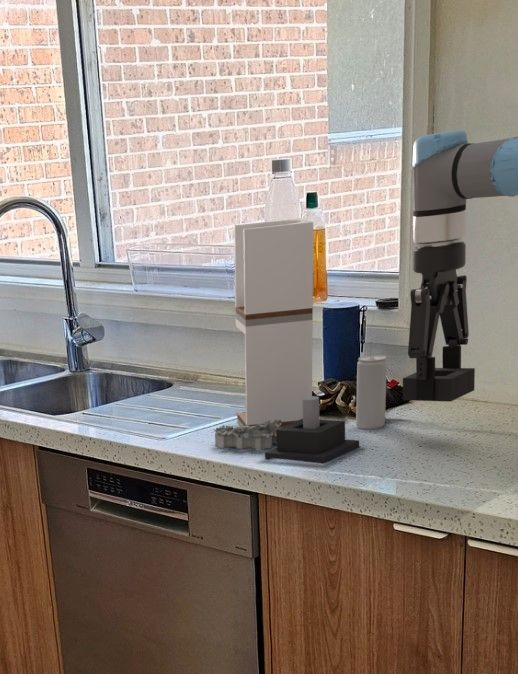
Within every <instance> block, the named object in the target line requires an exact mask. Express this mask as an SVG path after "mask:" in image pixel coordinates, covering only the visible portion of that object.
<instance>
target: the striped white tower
mask: <svg viewBox="0 0 518 674" xmlns="http://www.w3.org/2000/svg"><path fill="white" fill-rule="evenodd" d="M233 240H234V241H233V243H234V244H233V245H234V246H233V247H234V249H233V250H234V301H235V302H234V306H235V327H236V329H238V330H240V332H241V333H243V334H244V359H245V360H244V367H245V371H244V373H245V374H244V375H245V411H243V412H237V413H236V421H237V422H236V423H237V424H238V425H239V426H238V427H240V426H256V425H257V424H261V425H264V424H265V422H266V421H267V422H268V421H270V420H271V421H274V420H278V421H279V420H281V422H282V424H281V425H280V427H278V429H280V428H282V427H284V426H287V425H289V424H291V423H294V422H296V421H298V420H300V419H303V403H302V399H303V398H305V397H310V396H313V326H314V325H313V320H314V319H313V318H314V317H313V316H314V312H313V309H314V307H313V305H314V303H313V302H314V221H311V220H307V219H304V218H301V217H300V218H290V219H281V220H280V219H279V220H270V221H261V222H252V223H242V224H234V225H233Z"/></svg>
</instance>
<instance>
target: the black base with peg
mask: <svg viewBox="0 0 518 674" xmlns="http://www.w3.org/2000/svg"><path fill="white" fill-rule="evenodd" d="M302 403H303V429H316V428H319V427H320V421H319V420H320V396H316V395H312V396H310V397H305V398H303V399H302ZM359 448H360V440H359V439H358V440H357V439H345V442H344V443H342V444H340V445H338V446H336V447H333V448H331V449H329V450H327V451H325V452H323V453H321V454H312V453H299V452H285V451H277V447H275V448H273V449H269V450H268V451H266V452H264V459H265V460H271V459H279V460H287V461H296V462H307V463H317V464H326V463H328V462H330V461H332V460H335V459H337V458H339V457H341V456H344V455H346V454H348V453H351V452H352V451H355V450H357V449H359Z"/></svg>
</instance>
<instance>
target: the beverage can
mask: <svg viewBox="0 0 518 674" xmlns="http://www.w3.org/2000/svg"><path fill="white" fill-rule="evenodd" d="M357 360H358V361H357V365H356V367H357V368H356V371H357V372H356V405H355V406H356V409H355V411H356V413H355V425H356V427H357V429H360V430H377V429H382V428H383V427H384V426H385V424H386V403H387V402H386V400H387V399H386V397H387V369H388V361H387V356H386V355H380V354H379V355H378V354H377V355H376V354H374V355H364V356H359V357H358V359H357Z"/></svg>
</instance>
